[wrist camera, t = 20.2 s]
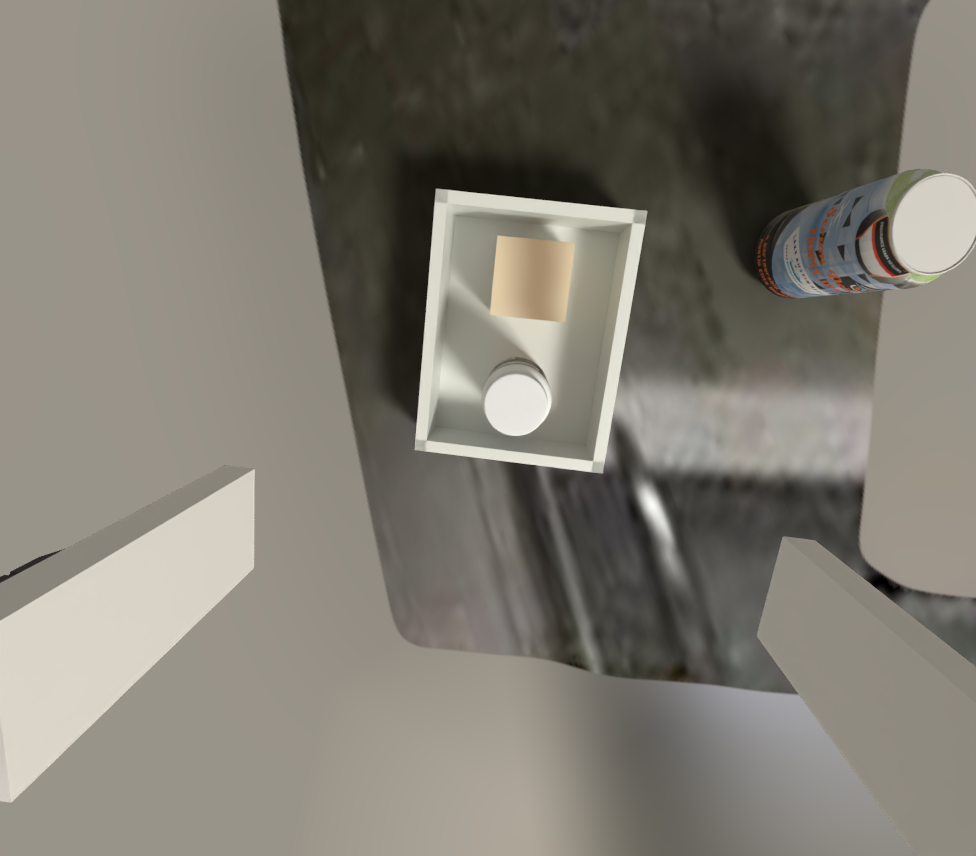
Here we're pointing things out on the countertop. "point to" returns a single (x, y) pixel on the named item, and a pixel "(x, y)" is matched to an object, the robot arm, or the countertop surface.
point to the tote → (525, 328)
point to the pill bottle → (516, 396)
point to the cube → (531, 278)
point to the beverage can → (870, 237)
